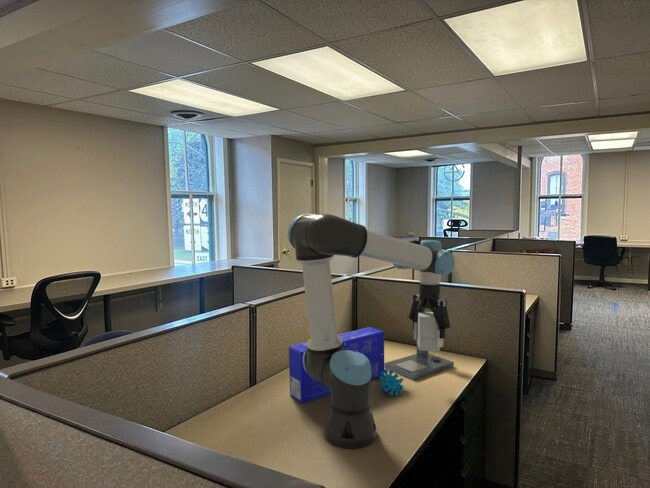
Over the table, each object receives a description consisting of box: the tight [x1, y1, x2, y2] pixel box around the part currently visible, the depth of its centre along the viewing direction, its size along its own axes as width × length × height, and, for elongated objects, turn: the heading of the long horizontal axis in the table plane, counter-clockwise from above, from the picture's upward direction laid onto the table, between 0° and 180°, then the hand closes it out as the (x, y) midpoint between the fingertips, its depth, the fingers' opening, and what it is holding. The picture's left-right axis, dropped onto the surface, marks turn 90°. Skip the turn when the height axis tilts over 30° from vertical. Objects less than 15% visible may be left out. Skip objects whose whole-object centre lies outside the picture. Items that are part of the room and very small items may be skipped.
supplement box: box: [416, 311, 441, 352], centre depth 156 cm, size 7×7×13 cm
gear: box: [378, 368, 404, 397], centre depth 154 cm, size 11×6×10 cm
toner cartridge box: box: [288, 326, 385, 404], centre depth 158 cm, size 39×8×18 cm, turn 126°
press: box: [384, 344, 455, 381], centre depth 176 cm, size 24×16×18 cm, turn 126°
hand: (428, 342), depth 156 cm, fingers closed on supplement box, 10 cm apart
